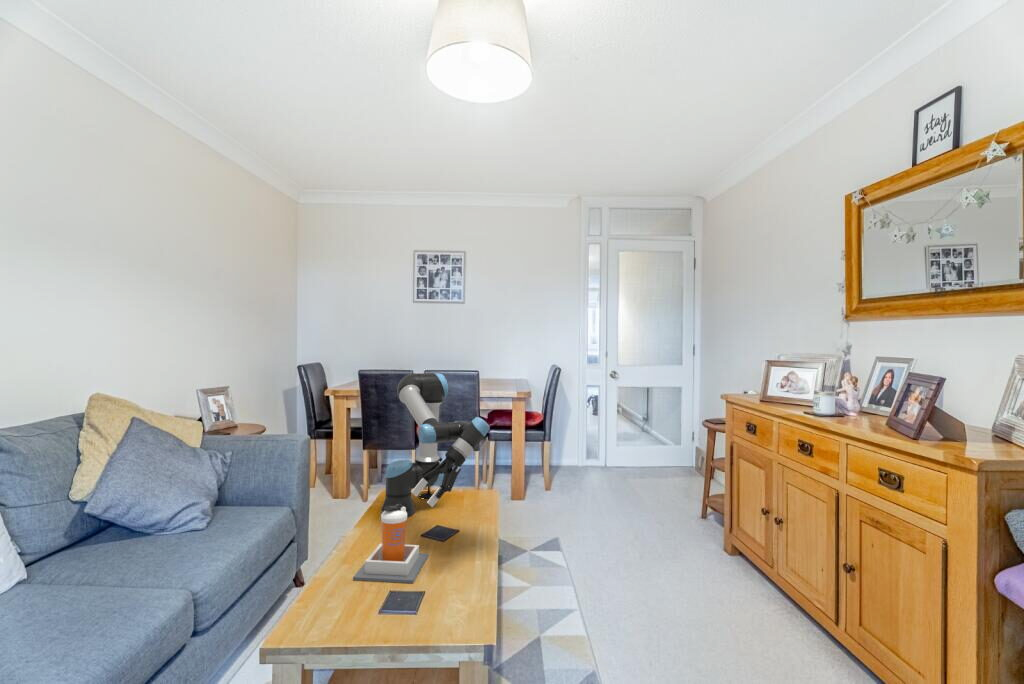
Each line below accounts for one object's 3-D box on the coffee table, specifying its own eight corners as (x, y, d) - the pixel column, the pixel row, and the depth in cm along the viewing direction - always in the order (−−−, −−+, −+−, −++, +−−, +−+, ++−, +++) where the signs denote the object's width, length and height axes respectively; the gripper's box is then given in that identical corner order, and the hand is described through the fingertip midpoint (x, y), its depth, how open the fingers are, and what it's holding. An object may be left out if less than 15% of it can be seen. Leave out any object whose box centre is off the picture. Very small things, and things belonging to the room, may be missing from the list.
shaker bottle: (374, 564, 160) (376, 506, 160) (396, 556, 167) (398, 500, 167) (388, 573, 154) (390, 512, 154) (411, 564, 160) (412, 506, 161)
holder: (375, 553, 171) (375, 539, 171) (428, 556, 169) (428, 542, 169) (353, 580, 151) (353, 564, 151) (413, 583, 149) (413, 567, 149)
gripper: (481, 466, 167) (443, 516, 158) (449, 452, 187) (414, 496, 178) (469, 453, 164) (429, 503, 155) (437, 441, 184) (401, 484, 175)
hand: (421, 499), depth 166 cm, fingers open, 13 cm apart
